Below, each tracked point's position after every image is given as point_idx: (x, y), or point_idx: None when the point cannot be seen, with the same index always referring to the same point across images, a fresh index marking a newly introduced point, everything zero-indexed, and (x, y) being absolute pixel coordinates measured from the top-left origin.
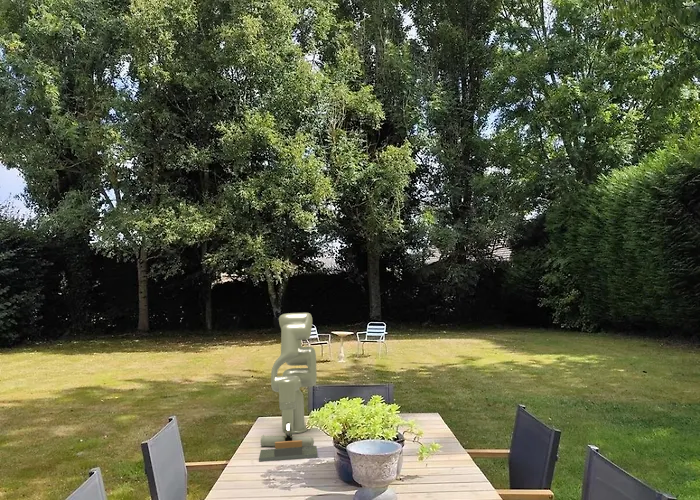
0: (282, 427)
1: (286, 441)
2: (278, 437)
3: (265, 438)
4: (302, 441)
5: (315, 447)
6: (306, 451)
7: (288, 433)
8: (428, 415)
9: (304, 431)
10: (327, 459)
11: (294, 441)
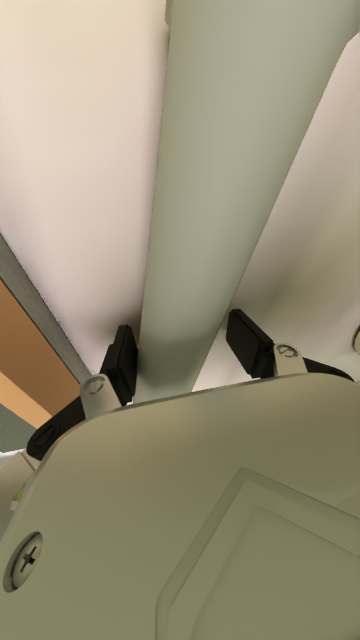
0: (3, 554)
1: (9, 389)
2: (168, 295)
3: (200, 32)
4: None
5: None
6: (19, 425)
7: (20, 467)
8: None
9: (356, 351)
10: (3, 454)
11: (35, 424)
